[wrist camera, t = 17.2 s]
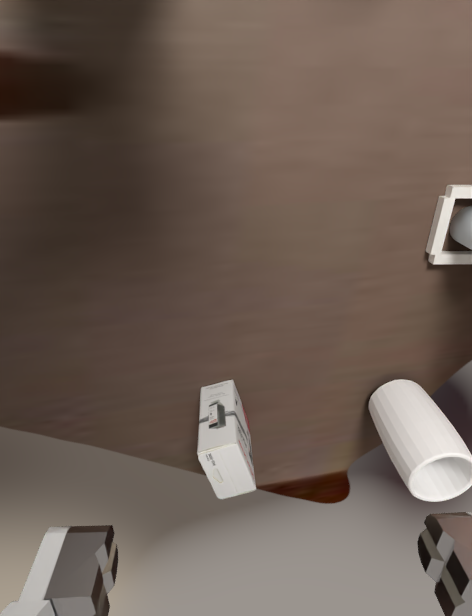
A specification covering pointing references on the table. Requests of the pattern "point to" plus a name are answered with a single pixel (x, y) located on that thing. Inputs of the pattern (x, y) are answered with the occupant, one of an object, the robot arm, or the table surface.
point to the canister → (462, 227)
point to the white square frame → (441, 226)
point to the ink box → (225, 441)
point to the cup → (421, 441)
